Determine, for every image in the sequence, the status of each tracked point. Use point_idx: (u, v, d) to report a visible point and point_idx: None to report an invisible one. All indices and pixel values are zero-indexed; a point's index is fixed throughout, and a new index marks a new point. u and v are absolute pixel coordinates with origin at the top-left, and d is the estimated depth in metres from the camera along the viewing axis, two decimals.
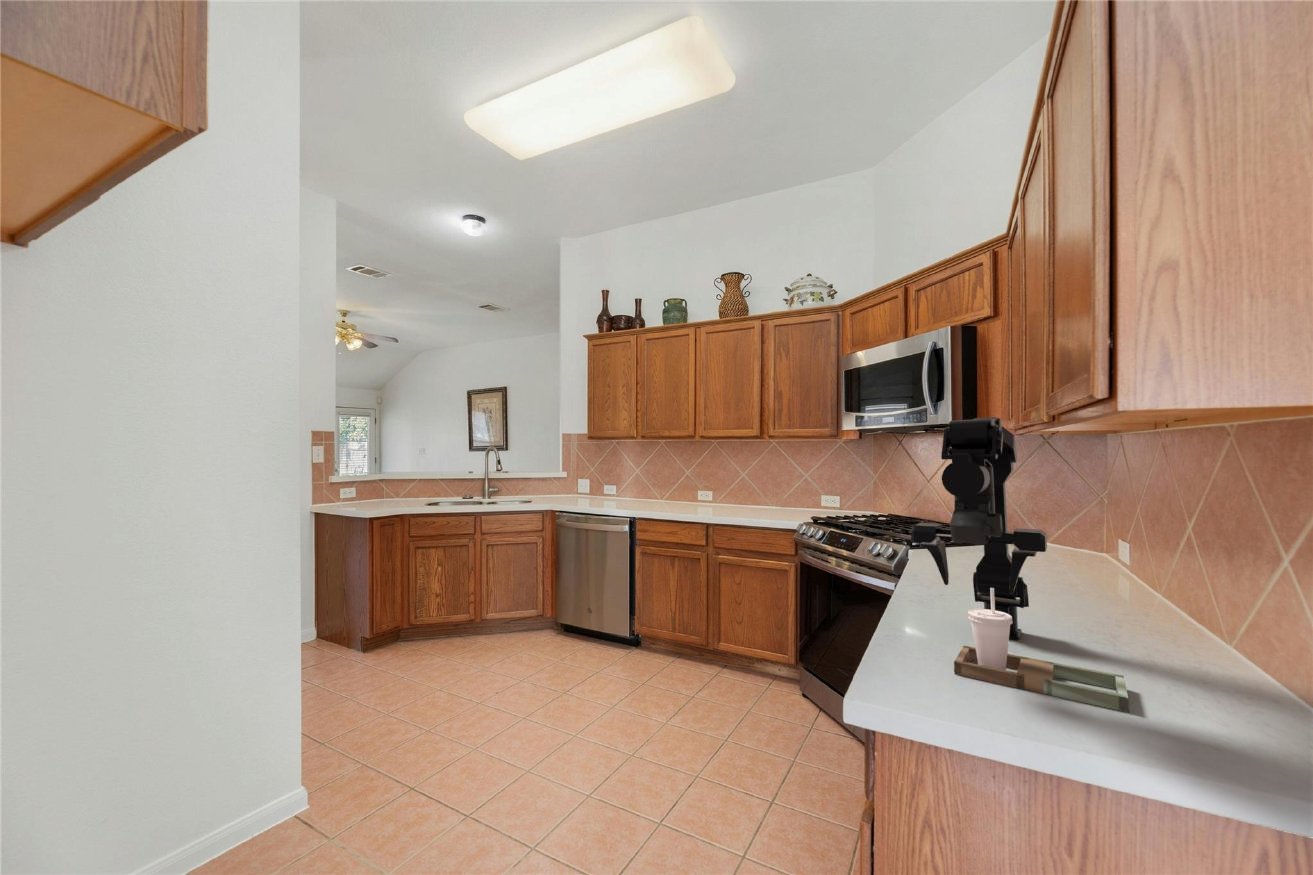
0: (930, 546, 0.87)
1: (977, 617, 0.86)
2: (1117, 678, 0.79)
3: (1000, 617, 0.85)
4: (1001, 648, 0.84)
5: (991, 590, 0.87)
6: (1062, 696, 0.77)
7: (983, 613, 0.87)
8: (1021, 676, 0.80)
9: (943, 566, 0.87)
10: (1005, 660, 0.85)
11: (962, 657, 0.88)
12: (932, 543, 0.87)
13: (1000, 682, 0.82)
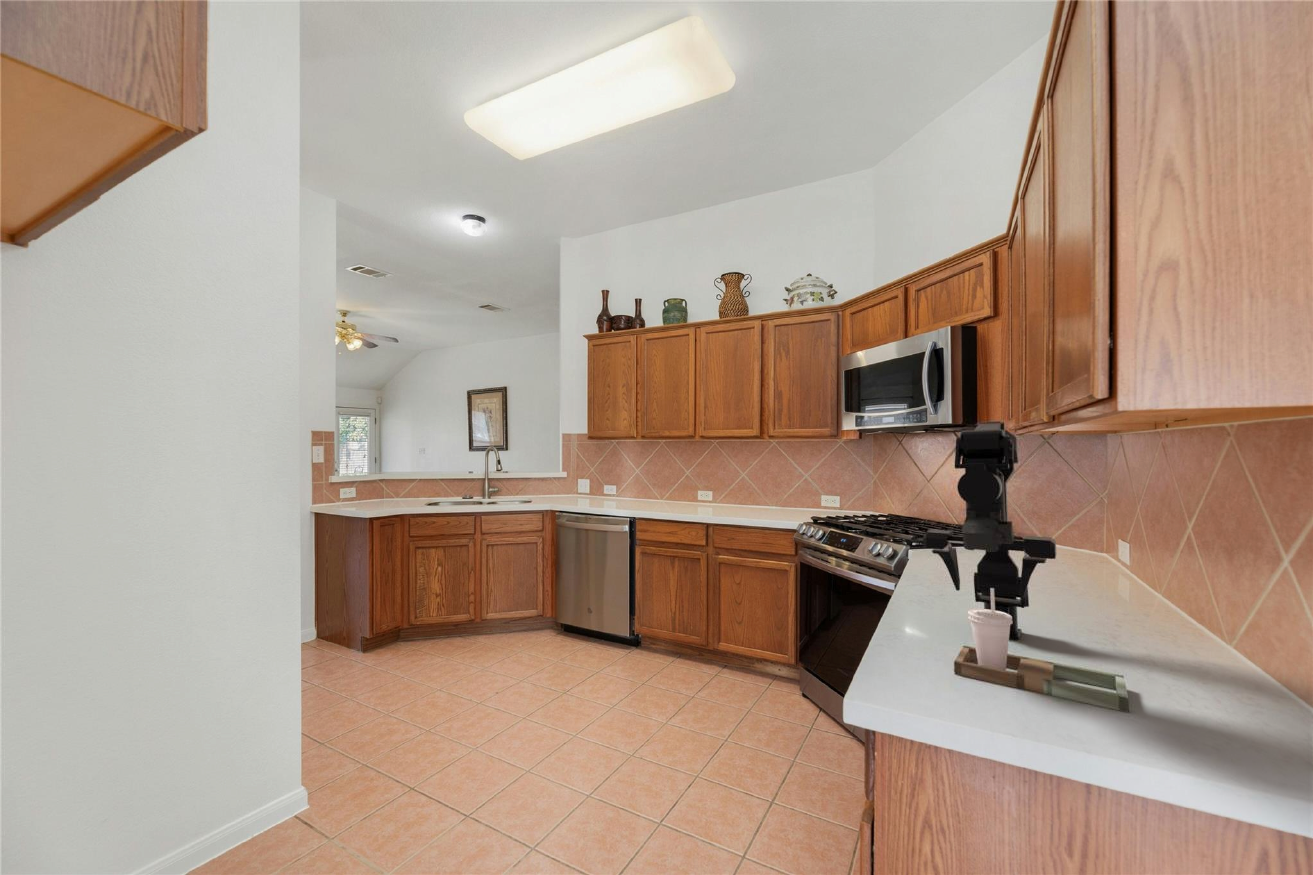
0: (942, 552, 0.89)
1: (977, 617, 0.86)
2: (1117, 678, 0.79)
3: (1000, 617, 0.85)
4: (1001, 648, 0.84)
5: (991, 590, 0.87)
6: (1062, 696, 0.77)
7: (983, 613, 0.87)
8: (1021, 676, 0.80)
9: (955, 572, 0.90)
10: (1005, 660, 0.85)
11: (962, 657, 0.88)
12: (944, 550, 0.90)
13: (1000, 682, 0.82)
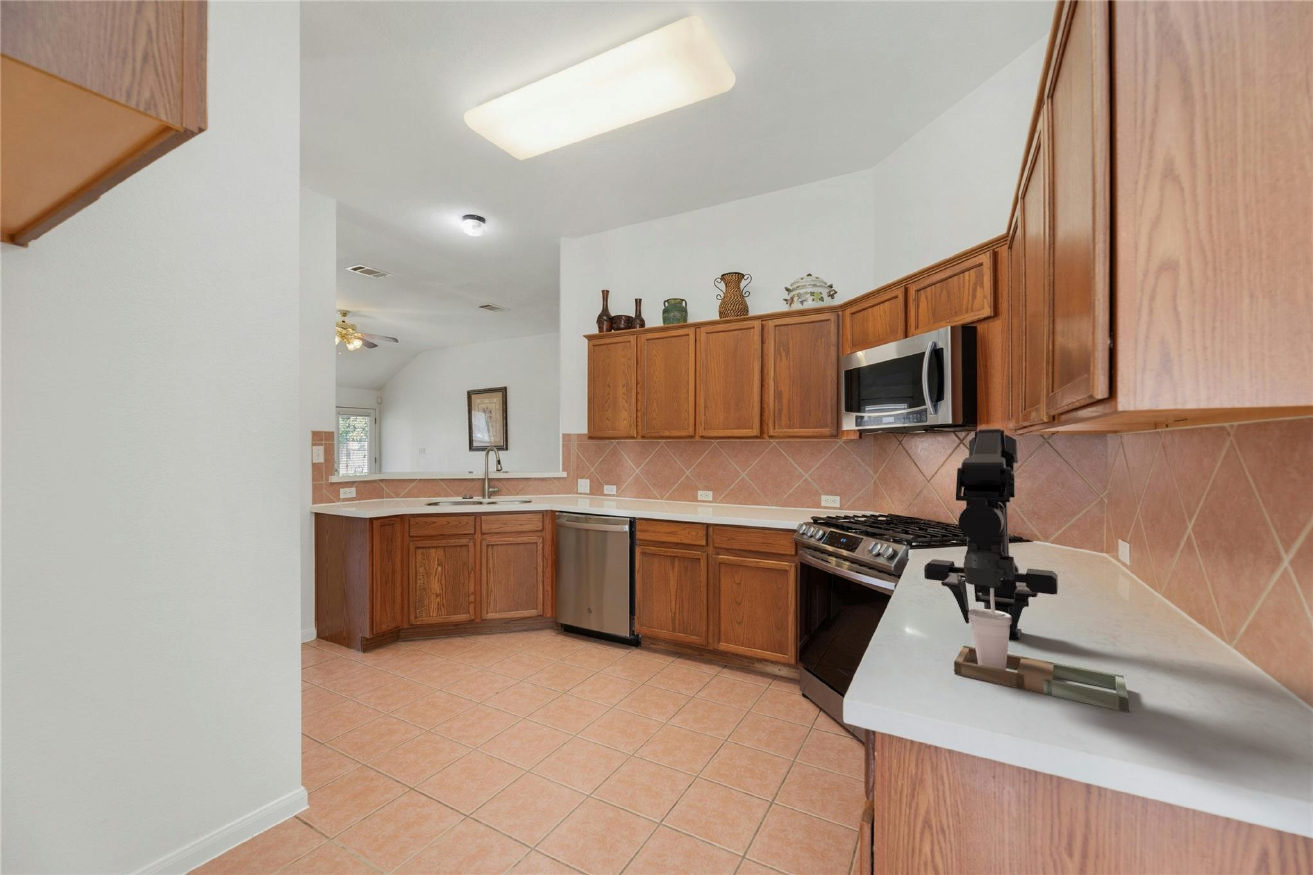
0: (951, 585, 0.88)
1: (977, 617, 0.86)
2: (1117, 678, 0.79)
3: (1000, 617, 0.85)
4: (1001, 648, 0.84)
5: (991, 590, 0.87)
6: (1062, 696, 0.77)
7: (983, 613, 0.87)
8: (1021, 676, 0.80)
9: (964, 605, 0.89)
10: (1005, 660, 0.85)
11: (962, 657, 0.88)
12: (953, 582, 0.89)
13: (1000, 682, 0.82)
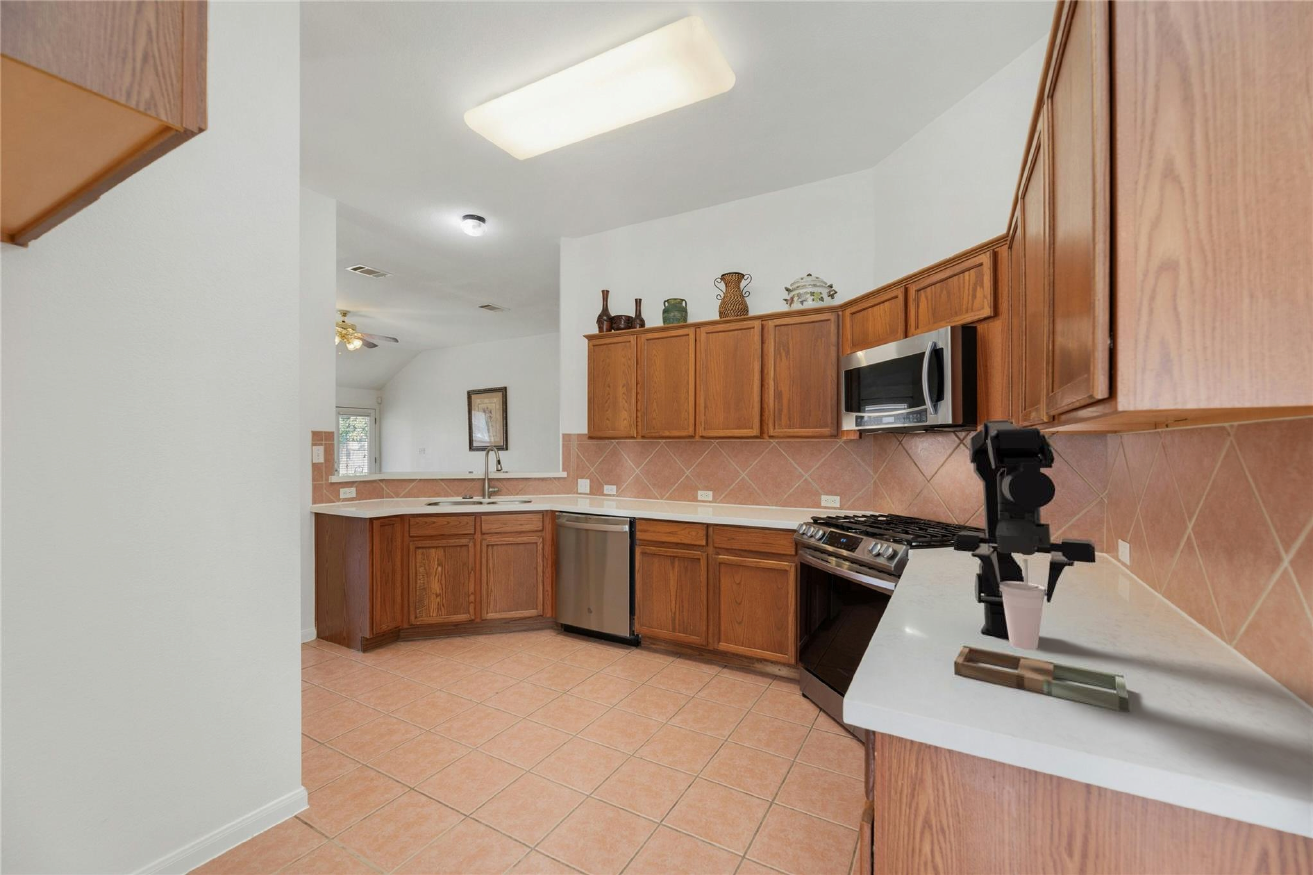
0: (982, 556, 0.86)
1: (1009, 588, 0.83)
2: (1117, 678, 0.79)
3: (1033, 589, 0.82)
4: (1033, 621, 0.82)
5: (1024, 561, 0.84)
6: (1062, 696, 0.77)
7: (1015, 585, 0.84)
8: (1021, 676, 0.80)
9: (996, 576, 0.86)
10: (1038, 633, 0.82)
11: (962, 657, 0.88)
12: (984, 553, 0.86)
13: (1000, 682, 0.82)
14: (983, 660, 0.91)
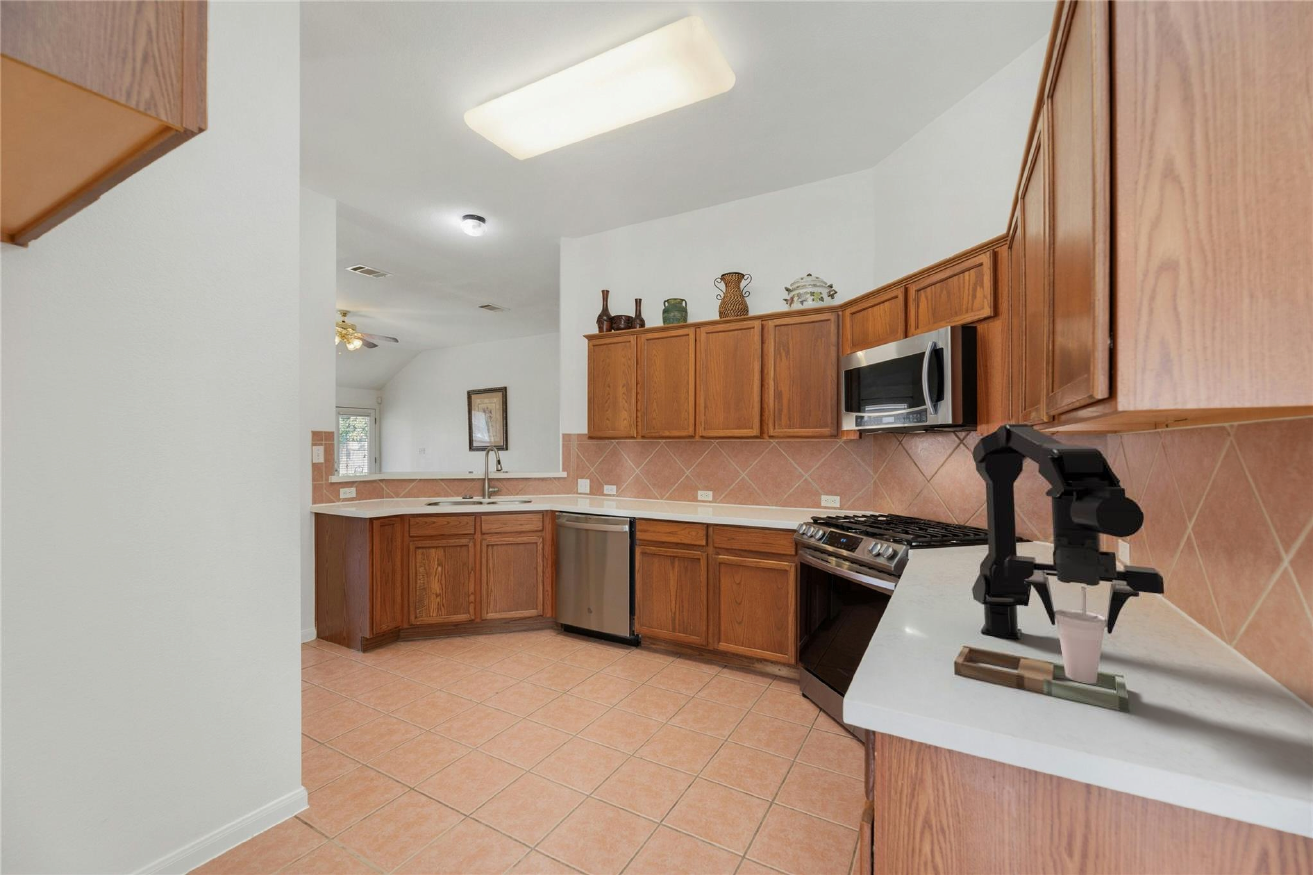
0: (1037, 584, 0.81)
1: (1067, 619, 0.78)
2: (1117, 678, 0.79)
3: (1093, 619, 0.78)
4: (1094, 653, 0.77)
5: (1082, 589, 0.79)
6: (1062, 696, 0.77)
7: (1073, 614, 0.80)
8: (1021, 676, 0.80)
9: (1051, 605, 0.81)
10: (1097, 666, 0.78)
11: (962, 657, 0.88)
12: (1039, 580, 0.81)
13: (1000, 682, 0.82)
14: (983, 660, 0.91)
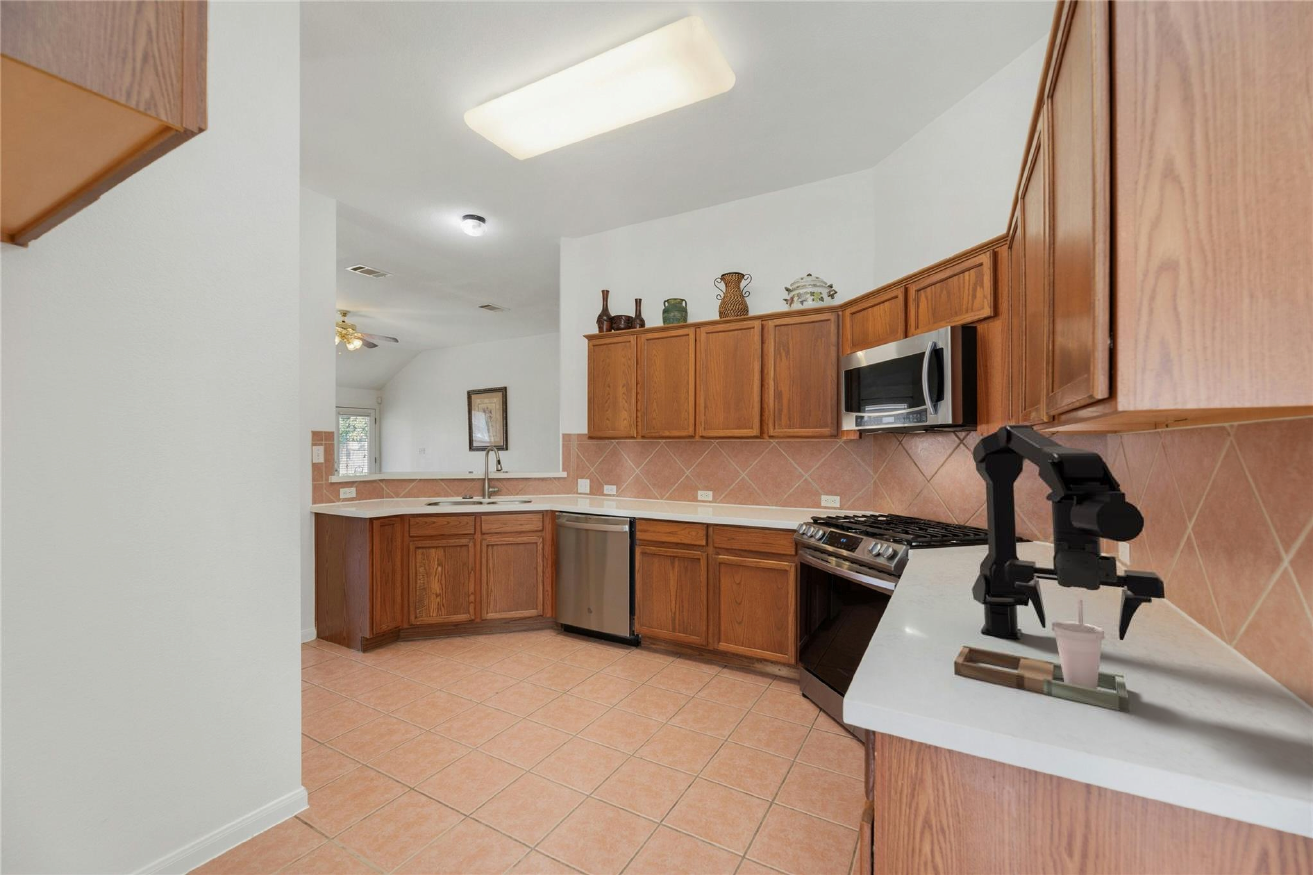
0: (1028, 587, 0.81)
1: (1065, 631, 0.79)
2: (1117, 678, 0.79)
3: (1091, 631, 0.78)
4: (1092, 665, 0.77)
5: (1079, 601, 0.80)
6: (1062, 696, 0.77)
7: (1070, 626, 0.80)
8: (1021, 676, 0.80)
9: (1041, 608, 0.82)
10: (1097, 678, 0.78)
11: (962, 657, 0.88)
12: (1029, 583, 0.82)
13: (1000, 682, 0.82)
14: (983, 660, 0.91)
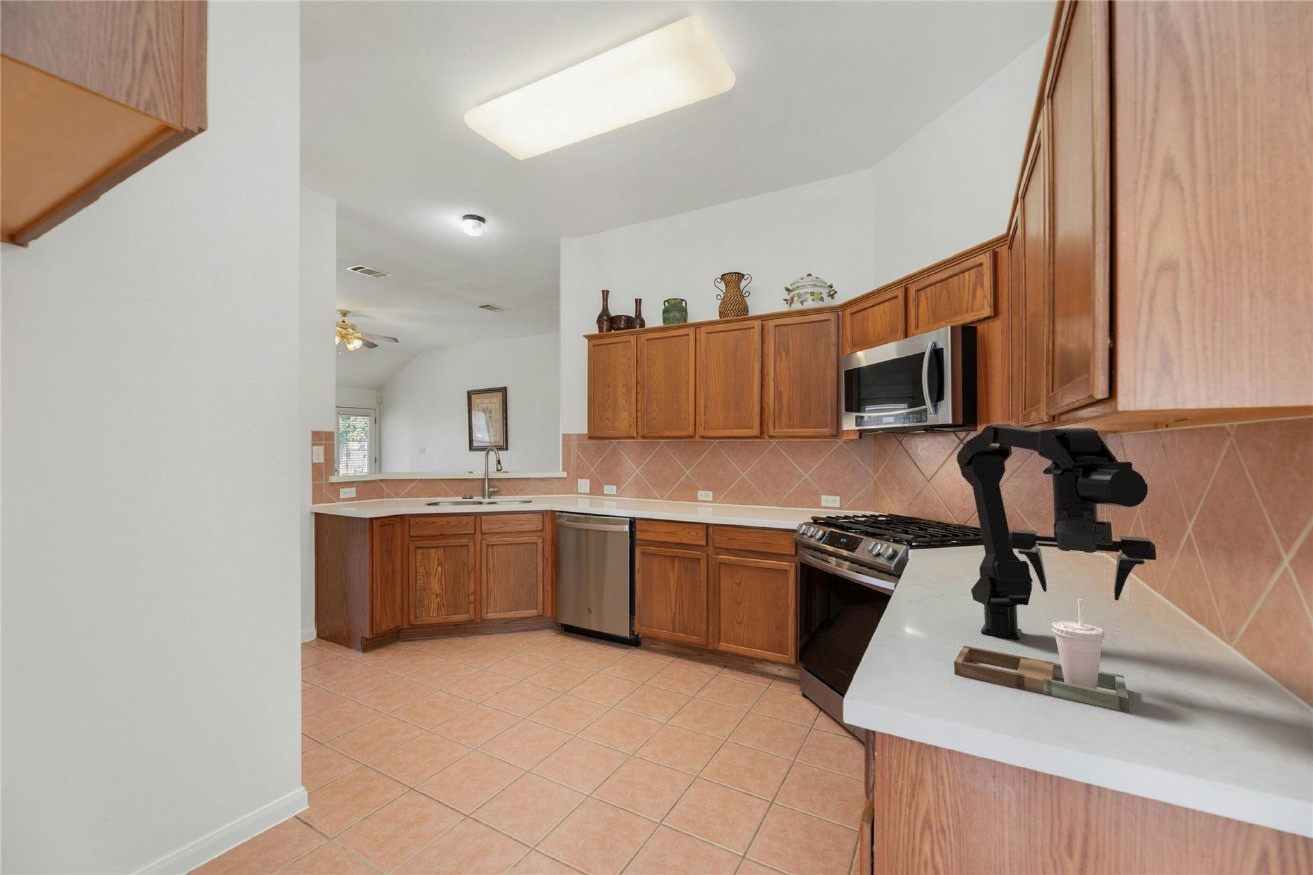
0: (1030, 553, 0.88)
1: (1065, 631, 0.79)
2: (1117, 678, 0.79)
3: (1091, 631, 0.78)
4: (1092, 665, 0.77)
5: (1079, 601, 0.80)
6: (1062, 696, 0.77)
7: (1070, 626, 0.80)
8: (1021, 676, 0.80)
9: (1042, 573, 0.88)
10: (1097, 678, 0.78)
11: (962, 657, 0.88)
12: (1031, 550, 0.88)
13: (1000, 682, 0.82)
14: (983, 660, 0.91)
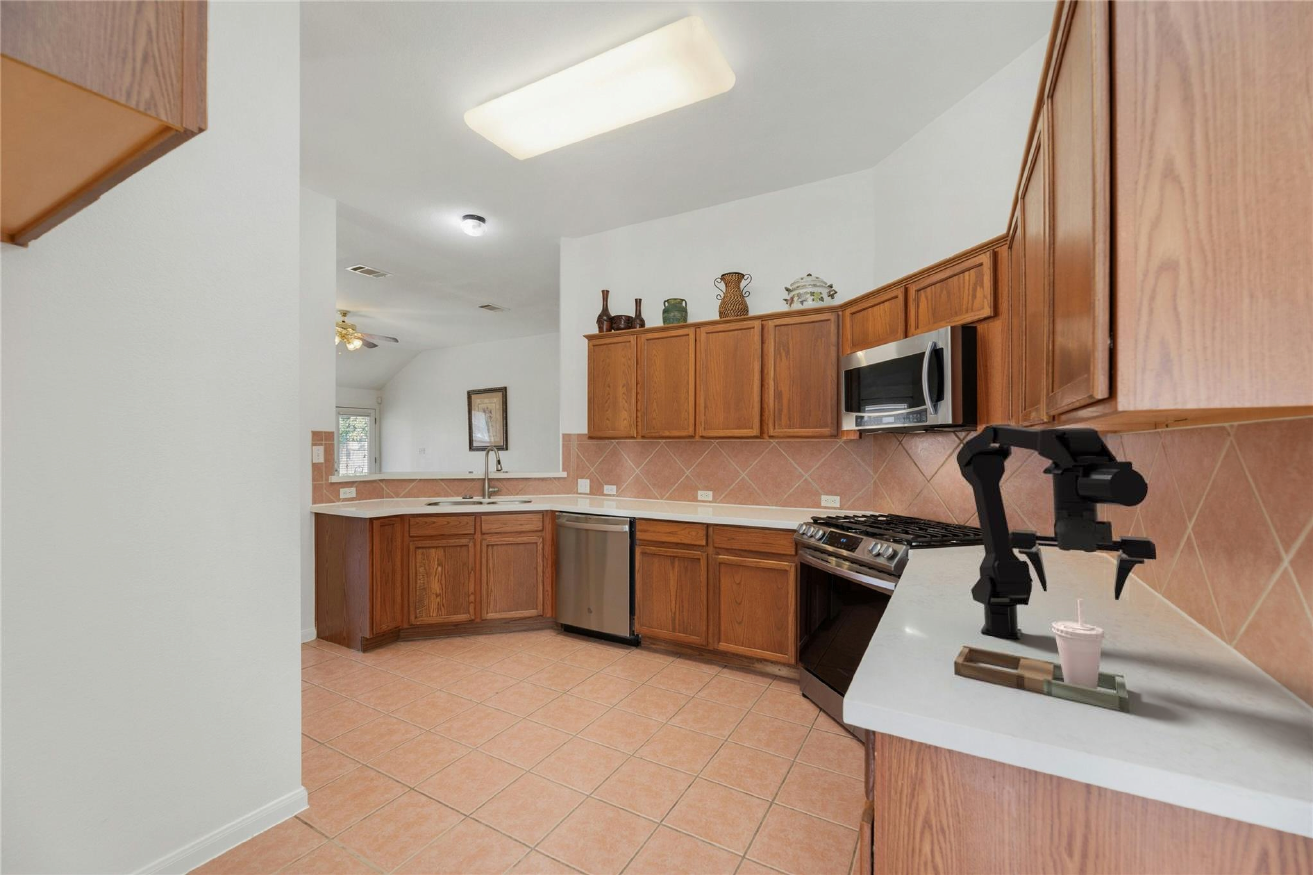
0: (1030, 553, 0.88)
1: (1065, 631, 0.79)
2: (1117, 678, 0.79)
3: (1091, 631, 0.78)
4: (1092, 665, 0.77)
5: (1079, 601, 0.80)
6: (1062, 696, 0.77)
7: (1070, 626, 0.80)
8: (1021, 676, 0.80)
9: (1042, 573, 0.88)
10: (1097, 678, 0.78)
11: (962, 657, 0.88)
12: (1031, 550, 0.88)
13: (1000, 682, 0.82)
14: (983, 660, 0.91)
